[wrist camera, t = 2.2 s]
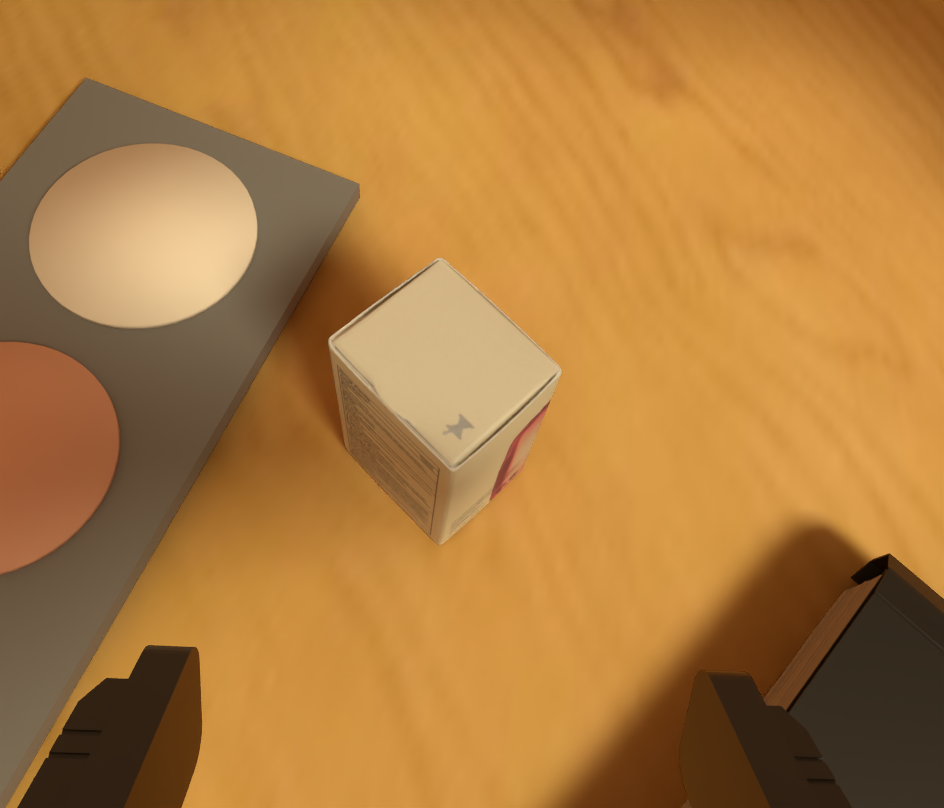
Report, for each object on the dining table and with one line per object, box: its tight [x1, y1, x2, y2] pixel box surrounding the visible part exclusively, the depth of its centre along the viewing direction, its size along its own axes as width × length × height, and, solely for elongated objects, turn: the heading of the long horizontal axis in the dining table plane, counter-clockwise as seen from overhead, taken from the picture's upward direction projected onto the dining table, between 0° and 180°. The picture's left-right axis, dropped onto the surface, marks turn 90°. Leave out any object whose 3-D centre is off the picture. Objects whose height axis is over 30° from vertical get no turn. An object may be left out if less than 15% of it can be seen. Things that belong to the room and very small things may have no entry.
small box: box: [328, 258, 562, 545], centre depth 25 cm, size 5×4×8 cm
